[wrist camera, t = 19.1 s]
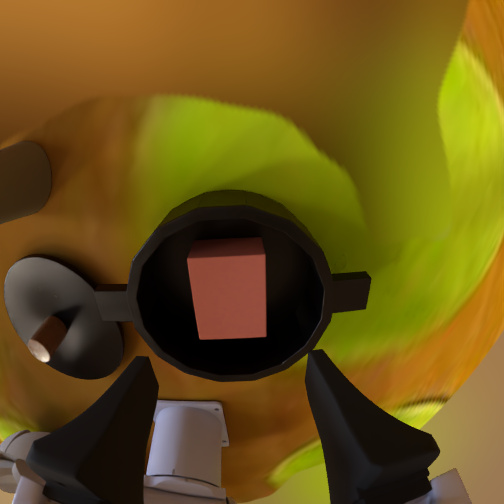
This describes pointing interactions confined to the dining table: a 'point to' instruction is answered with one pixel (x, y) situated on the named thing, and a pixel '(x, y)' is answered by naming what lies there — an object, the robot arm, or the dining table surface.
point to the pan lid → (62, 317)
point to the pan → (277, 288)
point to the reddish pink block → (229, 287)
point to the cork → (23, 180)
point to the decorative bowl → (17, 459)
